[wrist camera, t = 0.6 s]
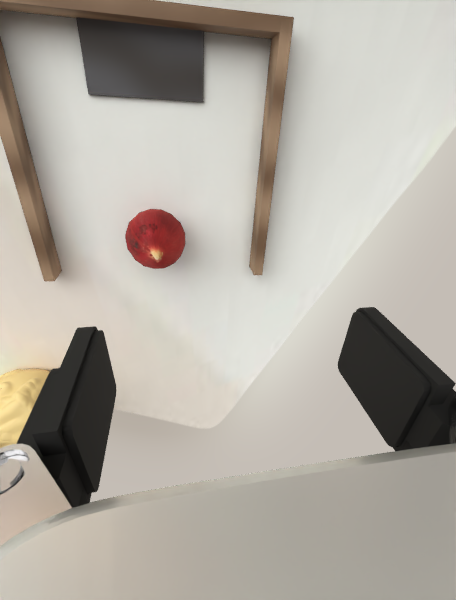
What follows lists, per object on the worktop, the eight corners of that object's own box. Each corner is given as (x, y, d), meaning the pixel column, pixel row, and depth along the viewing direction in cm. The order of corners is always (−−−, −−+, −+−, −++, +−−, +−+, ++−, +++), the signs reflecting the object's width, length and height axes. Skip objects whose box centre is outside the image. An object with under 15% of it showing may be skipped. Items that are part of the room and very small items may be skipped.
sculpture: (42, 342, 39) (4, 411, 30) (100, 395, 45) (82, 465, 36) (-32, 377, 40) (-91, 454, 31) (35, 424, 46) (2, 500, 37)
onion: (124, 242, 34) (112, 273, 27) (138, 192, 31) (129, 214, 24) (173, 258, 36) (175, 291, 29) (190, 213, 33) (196, 238, 26)
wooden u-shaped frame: (-28, -11, 22) (-48, -25, 20) (283, 25, 26) (293, 17, 24) (52, 271, 34) (44, 281, 32) (256, 266, 38) (262, 274, 36)
